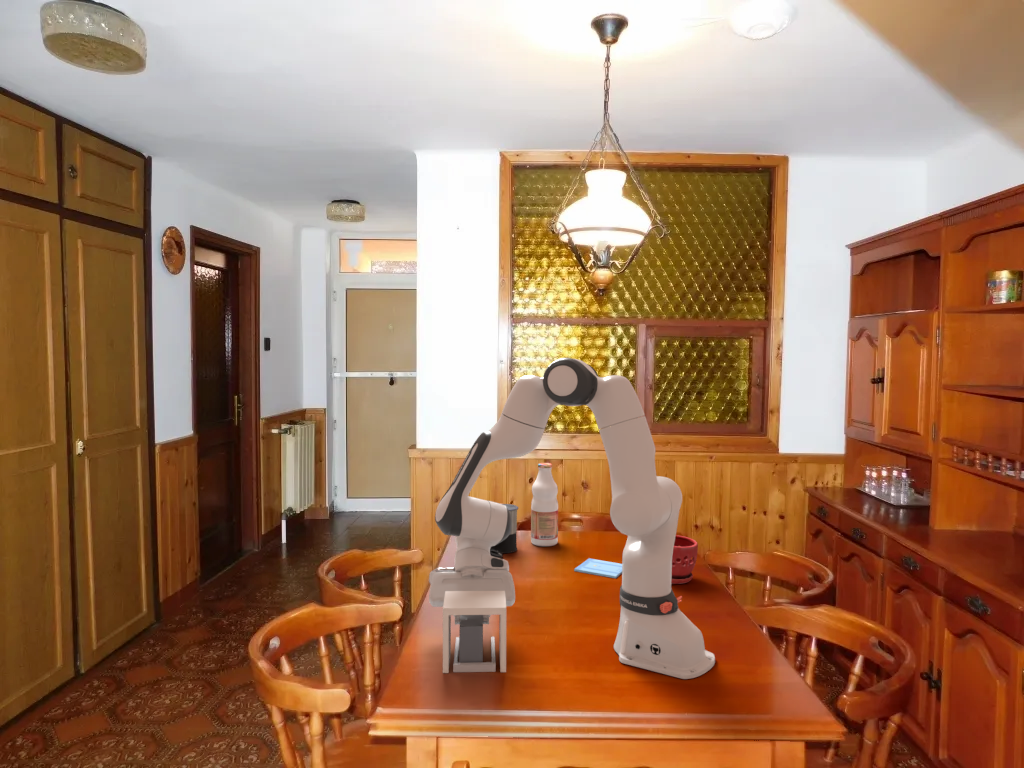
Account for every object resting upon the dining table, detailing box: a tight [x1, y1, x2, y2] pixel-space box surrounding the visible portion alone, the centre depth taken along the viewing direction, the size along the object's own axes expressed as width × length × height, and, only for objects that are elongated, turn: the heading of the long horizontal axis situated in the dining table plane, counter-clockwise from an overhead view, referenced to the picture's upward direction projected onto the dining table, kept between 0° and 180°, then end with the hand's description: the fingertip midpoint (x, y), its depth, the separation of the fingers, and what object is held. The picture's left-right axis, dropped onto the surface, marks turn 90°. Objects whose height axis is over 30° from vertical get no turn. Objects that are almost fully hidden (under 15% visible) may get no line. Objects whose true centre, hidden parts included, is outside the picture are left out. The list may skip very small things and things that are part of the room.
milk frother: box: [490, 503, 519, 559], centre depth 228 cm, size 14×16×15 cm
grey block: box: [458, 615, 484, 663], centre depth 153 cm, size 13×5×8 cm, turn 2°
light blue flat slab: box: [573, 557, 622, 579], centre depth 213 cm, size 14×12×1 cm
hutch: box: [442, 591, 507, 674], centre depth 153 cm, size 16×13×14 cm
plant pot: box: [671, 534, 699, 585], centre depth 204 cm, size 13×13×12 cm
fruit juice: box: [530, 462, 559, 547], centre depth 240 cm, size 9×9×28 cm
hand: (471, 623), depth 157 cm, fingers closed on grey block, 5 cm apart
